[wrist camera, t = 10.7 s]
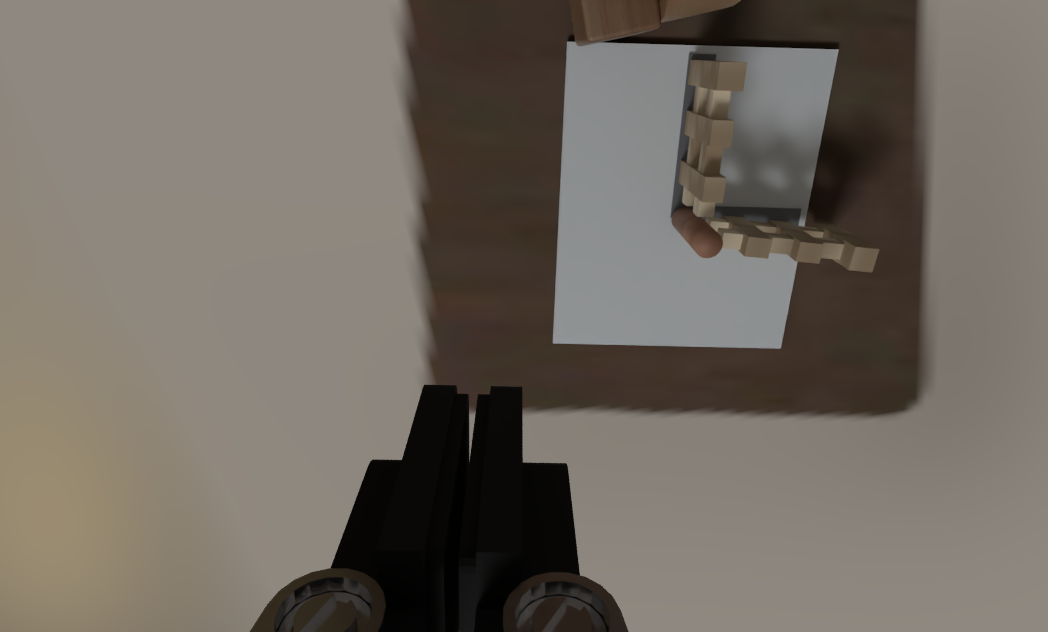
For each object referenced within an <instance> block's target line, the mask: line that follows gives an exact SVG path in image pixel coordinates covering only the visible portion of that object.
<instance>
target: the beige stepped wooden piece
mask: <svg viewBox="0 0 1048 632" xmlns="http://www.w3.org/2000/svg"><path fill="white" fill-rule="evenodd" d="M671 221H672V225H673V226H674V228H675V229H676V230H677V231H678V232H679V233H680V235H681V236H682V237H683V238H684V239H685V240H686V242H687V243H688V244H689V245H690V246H691V247H692V249H693V250H694V251H695V252H696V253H697V254H698V255H699V256H700V257H702V258H712V257H714V256H716V255H717V254H718V253H719V252H720V251H721V249H722V248H726V249H736V250H738V251H739V252H740V253H741V254H742V255H743V256H745V257H756V258H766V259H768V257H769V253H777V254H787V255H788V256H789V257H791V258H792V259H793V260H794V261H797V262H807V263H817V264H819V262H820V259H821V258H828V259H833V260H834V261H836V262H837V263H839V264H840V265H842V266H843V267H845V268H846V269H848V270H853V271H863V272H872V271H873V268H874V265H875V262H876V259H877V256H878V253H879V249H878V248H877V247H875V246H873V245H871V244H869V243H868V242H866V241H864V240H862V239H860V238H859V237H857V236H855V235H853V234H851V233H850V232H848V231H846V230H844V229H842V228H841V227H839V226H837V225H833V224H823V223H815V224H814V227H805V226H795V225H794V224H792V223H791V222H785V221H775V220H769V221H768V223H765V222H755V221H748V220H747V219H745V218H744V217H735V216H725V215H723V217H722V218H715V217H706V220H704V219H703V218H701V217H697V216H696V215H695V214H694V213H693V209H692V208H690V207H680V208H678V209H677V210H676V211H675V212H674V213H673V215H672V218H671Z"/></svg>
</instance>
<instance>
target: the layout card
mask: <svg viewBox="0 0 1048 632" xmlns="http://www.w3.org/2000/svg"><path fill="white" fill-rule="evenodd" d="M838 51H839V49H805V48H771V47H736V46H702V45H667V44H633V43H595V44H590V45H586V46H577V44H576V43H575V42H567V53H566V74H565V95H564V116H563V137H562V158H561V179H560V200H559V221H558V242H557V263H556V284H555V305H554V326H553V343H562V344H606V345H650V346H694V347H739V348H781V345H782V339H783V334H784V329H785V324H786V319H787V314H788V308H789V303H790V298H791V293H792V288H793V283H794V278H795V272H796V267H797V261H794V260H793V259H792V258H791V257H789V256H788V255H787V254H777V253H769V257H768V259H766V258H756V257H745V256H743V255H742V254H741V253H740V252H739V251H738V250H736V249H726V248H722V249H721V251H720V252H719V253H718V254H717V255H716V256H714V257H712V258H702V257H700V256H699V255H698V254H697V253H696V252H695V251H694V250H693V249H692V247H691V246H690V245H689V244H688V243H687V242H686V240H685V239H684V238H683V237H682V236H681V235H680V233H679V232H678V231H677V230H676V229H675V228H674V226H673V225H672V221H671V218H672V215H673V213H674V212H675V211H676V210H677V209H678V208H680V207H690V208H692V209H693V206H686V205H685V204H684V203H682V197H683V189H684V187H683V186H682V185H681V184H680V183H679V182H678V181H679V172H680V164H681V160H687V155H688V147H689V139H690V137H689V136H687V135H685V134H684V129H685V121H686V112H687V111H693V105H694V97H695V88H696V86H693V85H688V78H689V70H690V61H691V60H712V61H730V62H747V68H746V75H745V82H744V89H743V91H731V96H730V103H729V110H728V117H727V118H728V119H731V120H734V128H733V135H732V142H731V148H730V147H723V153H722V160H721V167H720V174H721V175H723V176H724V177H726V184H725V191H724V198H723V203H715V211H714V217H715V218H722V217H723V215H725V216H735V217H744V218H745V219H747V220H748V221H755V222H765V223H768V221H769V220H775V221H785V222H791V223H792V224H794V225H795V226H805V221H806V216H807V210H808V205H809V200H810V195H811V190H812V185H813V179H814V174H815V169H816V164H817V159H818V154H819V149H820V143H821V138H822V133H823V128H824V123H825V118H826V112H827V107H828V102H829V97H830V92H831V87H832V81H833V76H834V71H835V66H836V61H837V56H838ZM701 218H703V219H704V220H706V217H701Z"/></svg>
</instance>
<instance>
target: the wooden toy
mask: <svg viewBox="0 0 1048 632" xmlns="http://www.w3.org/2000/svg"><path fill="white" fill-rule="evenodd" d="M740 1H741V0H569V6H570V12H571V18H572V25H573V31H574V38H575V43H576V44H577V46H586V45H590V44H595V43H600V42H604V41H609V40H614V39H618V38H623V37H628V36H632V35H637V34H641V33H644V32H648V31H652V30H656V29H658V28H659V27H660V25H661V23H663V22H668V21H672V20H677V19H681V18H686V17H690V16H695V15H699V14H703V13H708V12H712V11H716V10H720V9H724V8H728V7H732V6H734V5H735V4H737V3H738V2H740Z"/></svg>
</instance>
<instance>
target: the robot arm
mask: <svg viewBox="0 0 1048 632" xmlns="http://www.w3.org/2000/svg"><path fill="white" fill-rule="evenodd" d="M522 461H523V457H522V387H503V386H491V390H490V395H488V394H478V399H477V407H476V415H475V424H474V431H473V439H472V448H471V455H470V463H469V395H468V394H457V387H456V385H424V386H423V389H422V393H421V396H420V400H419V403H418V407H417V410H416V413H415V417H414V421H413V424H412V427H411V431H410V434H409V438H408V442H407V444H406V448H405V451H404V455H403V458H402V460H372V461H371V462H370V464H369V466H368V468H367V471H366V473H365V476H364V479H363V481H362V484H361V487H360V490H359V492H358V495H357V498H356V501H355V504H354V506H353V509H352V512H351V514H350V517H349V520H348V523H347V525H346V528H345V530H344V533H343V536H342V539H341V542H340V544H339V547H338V550H337V552H336V555H335V558H334V560H333V563H332V566H331V568H330V569H325V570H320V571H315V572H311V573H309V574H307V575H304V576H302V577H300V578H298V579H295V580H294V581H292V582H291V583H289V584H288V585H287V586H285V587H284V588H282V589H281V590H280V591H279V592H278V593H277V594H276V595H275V596H274V597H273V599H272V600H271V601H270V602H269V603H268V604H267V606H266V607H265V609H264V610H263V612H262V614H261V615H260V617H259V618H258V620H257V621H256V623H255V624H254V626H253V628H252V629H251V630H250V632H628V629H627V627H626V624H625V621H624V618H623V616H622V613H621V610H620V608H619V607H618V605H617V603H616V602H615V600H614V598H613V597H612V595H611V594H609V593H608V592H607V591H606V590H605V589H604V588H603V587H602V586H601V585H599V584H597V583H596V582H594V581H592V580H590V579H588V578H586V577H584V576H580V573H579V564H578V556H577V546H576V537H575V528H574V519H573V510H572V501H571V492H570V483H569V474H568V467H567V464H566V463H523V462H522Z"/></svg>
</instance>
